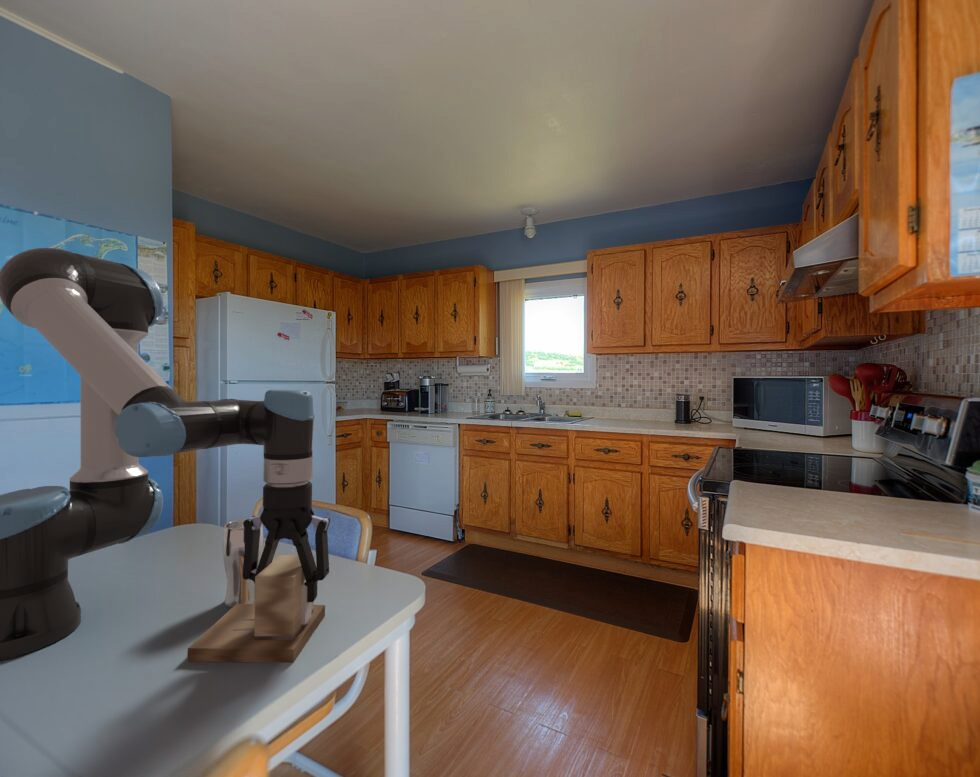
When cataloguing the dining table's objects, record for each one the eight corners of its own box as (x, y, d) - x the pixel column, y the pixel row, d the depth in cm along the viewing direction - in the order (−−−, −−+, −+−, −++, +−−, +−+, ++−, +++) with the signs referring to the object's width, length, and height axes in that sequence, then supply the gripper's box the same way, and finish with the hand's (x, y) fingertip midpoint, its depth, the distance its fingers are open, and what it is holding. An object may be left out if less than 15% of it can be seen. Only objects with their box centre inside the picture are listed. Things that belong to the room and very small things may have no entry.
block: (254, 639, 72) (255, 576, 72) (279, 611, 81) (280, 555, 81) (292, 640, 72) (293, 577, 72) (313, 611, 81) (314, 555, 81)
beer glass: (245, 611, 85) (246, 530, 85) (212, 606, 86) (214, 527, 86) (270, 594, 92) (271, 519, 91) (240, 590, 93) (241, 517, 93)
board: (187, 661, 69) (187, 648, 69) (236, 614, 83) (236, 603, 83) (293, 662, 70) (293, 649, 70) (324, 615, 84) (325, 604, 84)
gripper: (217, 486, 72) (215, 631, 73) (338, 488, 73) (335, 632, 73) (242, 476, 80) (240, 608, 80) (351, 478, 80) (349, 609, 81)
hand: (285, 619), depth 77 cm, fingers closed on block, 6 cm apart
